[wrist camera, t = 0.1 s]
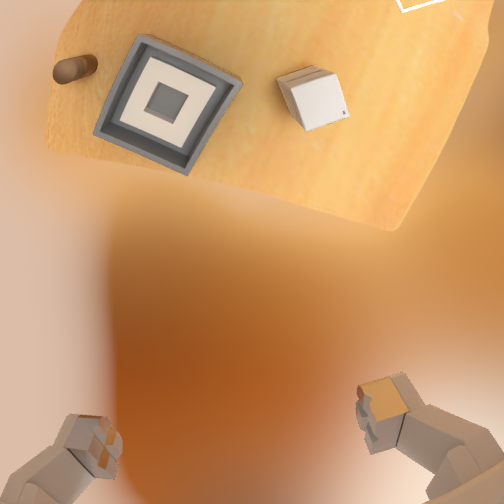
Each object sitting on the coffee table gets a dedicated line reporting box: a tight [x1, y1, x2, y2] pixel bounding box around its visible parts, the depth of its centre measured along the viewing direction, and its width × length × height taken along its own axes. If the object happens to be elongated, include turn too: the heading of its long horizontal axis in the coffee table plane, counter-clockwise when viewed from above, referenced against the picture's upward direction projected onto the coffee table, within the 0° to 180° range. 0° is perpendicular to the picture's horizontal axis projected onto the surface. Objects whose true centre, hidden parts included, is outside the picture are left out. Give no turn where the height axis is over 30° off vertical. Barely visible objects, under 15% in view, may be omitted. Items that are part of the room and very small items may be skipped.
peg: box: [53, 55, 98, 84], centre depth 38 cm, size 4×4×10 cm
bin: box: [93, 34, 244, 176], centre depth 46 cm, size 18×18×7 cm
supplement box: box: [276, 66, 350, 132], centre depth 45 cm, size 7×7×13 cm
